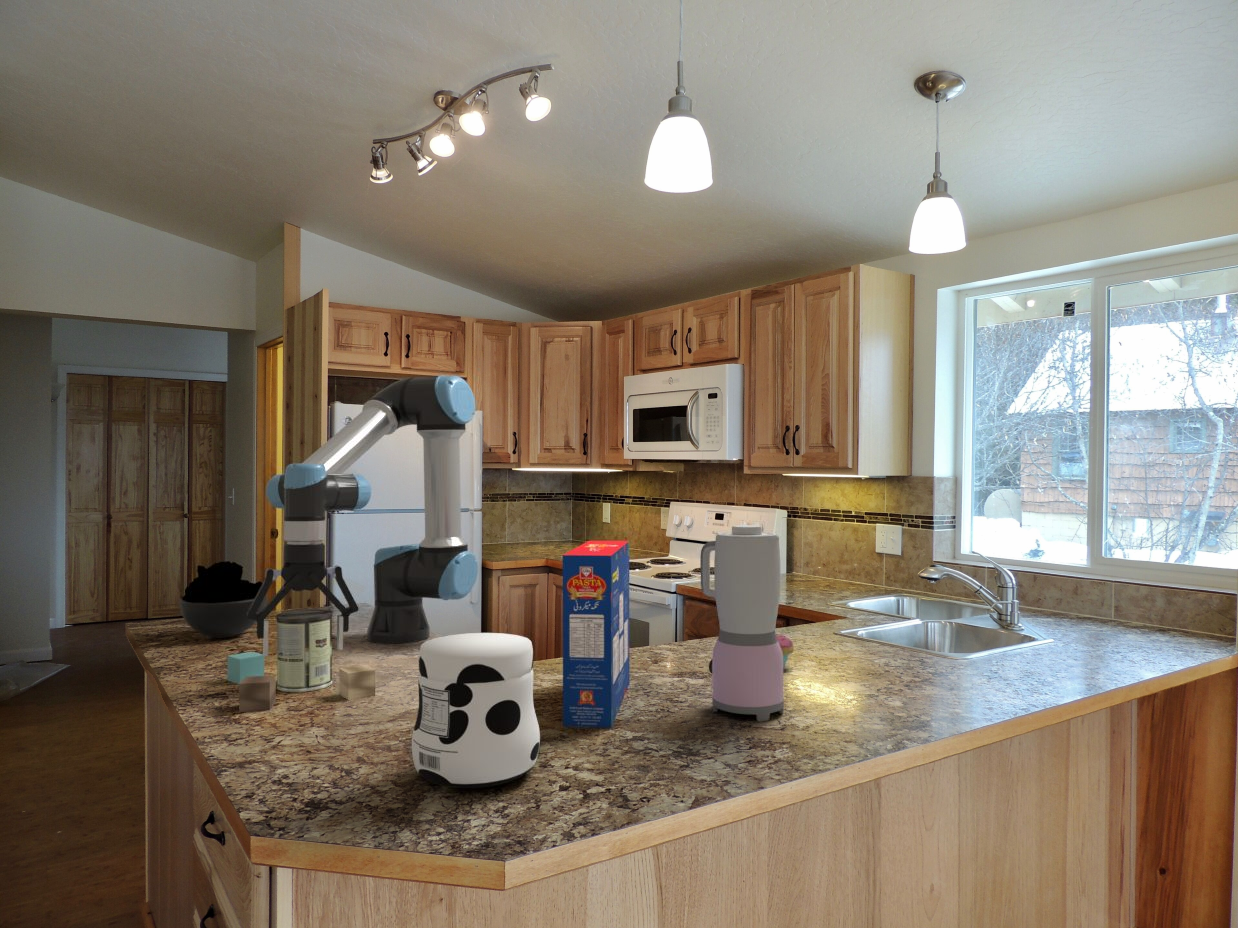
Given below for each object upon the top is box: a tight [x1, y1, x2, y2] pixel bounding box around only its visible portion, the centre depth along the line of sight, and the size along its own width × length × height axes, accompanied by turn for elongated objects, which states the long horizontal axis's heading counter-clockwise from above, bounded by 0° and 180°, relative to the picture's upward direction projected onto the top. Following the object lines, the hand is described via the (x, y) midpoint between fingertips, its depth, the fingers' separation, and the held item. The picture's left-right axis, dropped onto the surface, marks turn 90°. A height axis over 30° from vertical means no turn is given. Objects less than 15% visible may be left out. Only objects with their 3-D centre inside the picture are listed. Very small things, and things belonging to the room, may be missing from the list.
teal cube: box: [226, 651, 265, 685], centre depth 165 cm, size 5×5×5 cm
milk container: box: [411, 632, 541, 789], centre depth 113 cm, size 17×17×18 cm
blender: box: [699, 524, 785, 722], centre depth 144 cm, size 16×12×32 cm
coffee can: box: [275, 608, 333, 693], centre depth 161 cm, size 10×10×14 cm
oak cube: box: [338, 664, 376, 701], centre depth 154 cm, size 5×5×5 cm
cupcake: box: [775, 633, 795, 670], centre depth 174 cm, size 9×8×12 cm
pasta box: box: [562, 540, 631, 729], centre depth 148 cm, size 28×8×28 cm, turn 173°
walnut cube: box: [238, 674, 277, 713], centre depth 146 cm, size 5×5×5 cm
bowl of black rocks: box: [178, 560, 268, 639], centre depth 208 cm, size 20×20×19 cm
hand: (303, 652), depth 160 cm, fingers open, 13 cm apart
